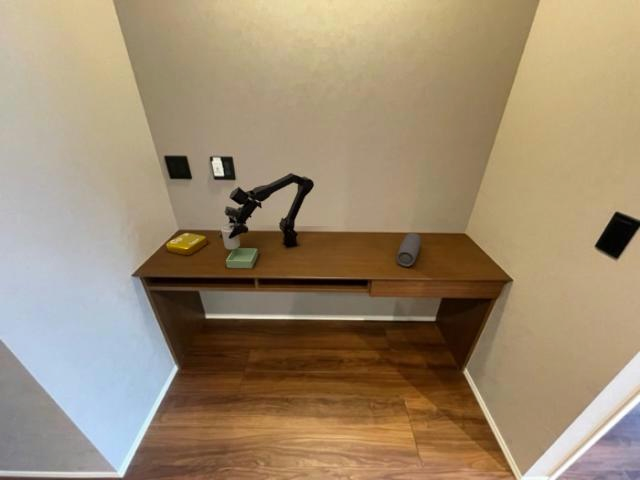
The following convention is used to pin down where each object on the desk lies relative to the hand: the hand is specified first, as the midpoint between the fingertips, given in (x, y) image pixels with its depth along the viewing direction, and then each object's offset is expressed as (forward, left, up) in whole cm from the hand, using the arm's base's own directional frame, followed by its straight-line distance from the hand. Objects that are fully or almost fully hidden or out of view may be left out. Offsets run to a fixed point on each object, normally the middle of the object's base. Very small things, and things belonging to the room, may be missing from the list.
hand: (227, 234), depth 128 cm
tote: (-4, +6, -13) cm, 15 cm away
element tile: (+19, -22, -14) cm, 32 cm away
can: (-1, 0, -7) cm, 7 cm away
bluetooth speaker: (-81, +42, -14) cm, 92 cm away
